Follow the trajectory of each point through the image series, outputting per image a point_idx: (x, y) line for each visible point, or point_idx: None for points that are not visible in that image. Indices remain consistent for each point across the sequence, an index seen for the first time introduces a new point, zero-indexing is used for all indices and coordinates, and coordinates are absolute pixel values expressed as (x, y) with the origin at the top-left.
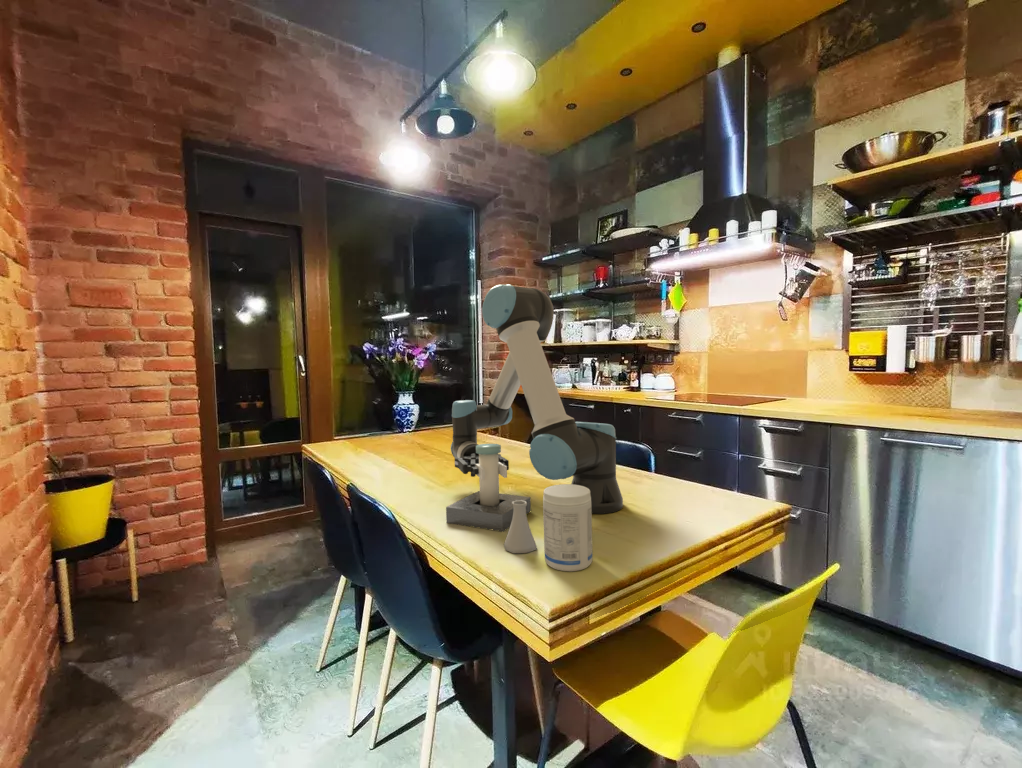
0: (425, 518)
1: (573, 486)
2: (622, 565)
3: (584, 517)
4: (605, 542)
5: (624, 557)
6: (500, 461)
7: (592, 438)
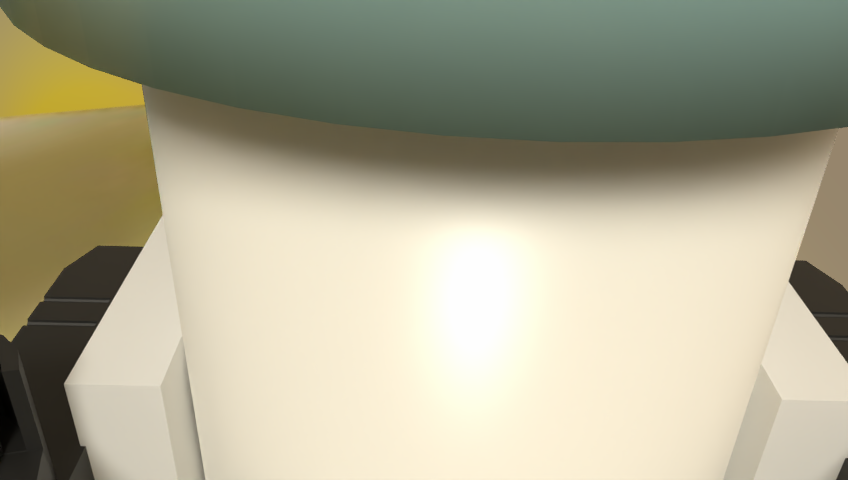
0: None
1: None
2: (142, 124)
3: None
4: (5, 219)
5: (82, 145)
6: (7, 395)
7: None
